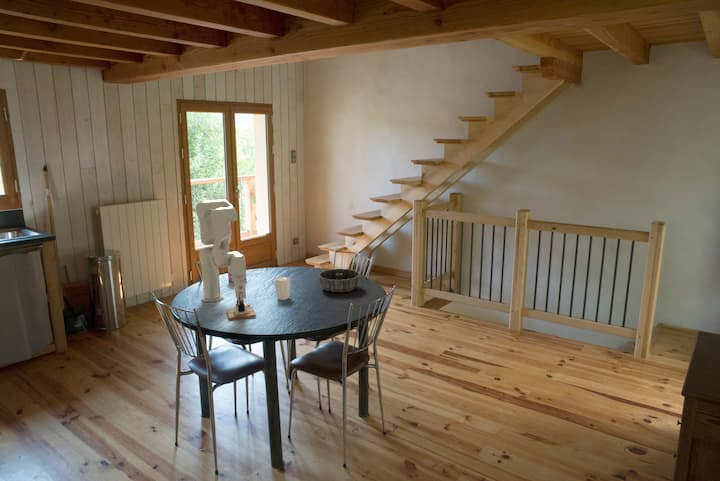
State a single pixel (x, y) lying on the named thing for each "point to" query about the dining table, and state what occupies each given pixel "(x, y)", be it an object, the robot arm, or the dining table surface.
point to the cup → (282, 287)
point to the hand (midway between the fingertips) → (240, 309)
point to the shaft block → (241, 316)
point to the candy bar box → (231, 275)
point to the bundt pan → (339, 280)
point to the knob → (238, 311)
